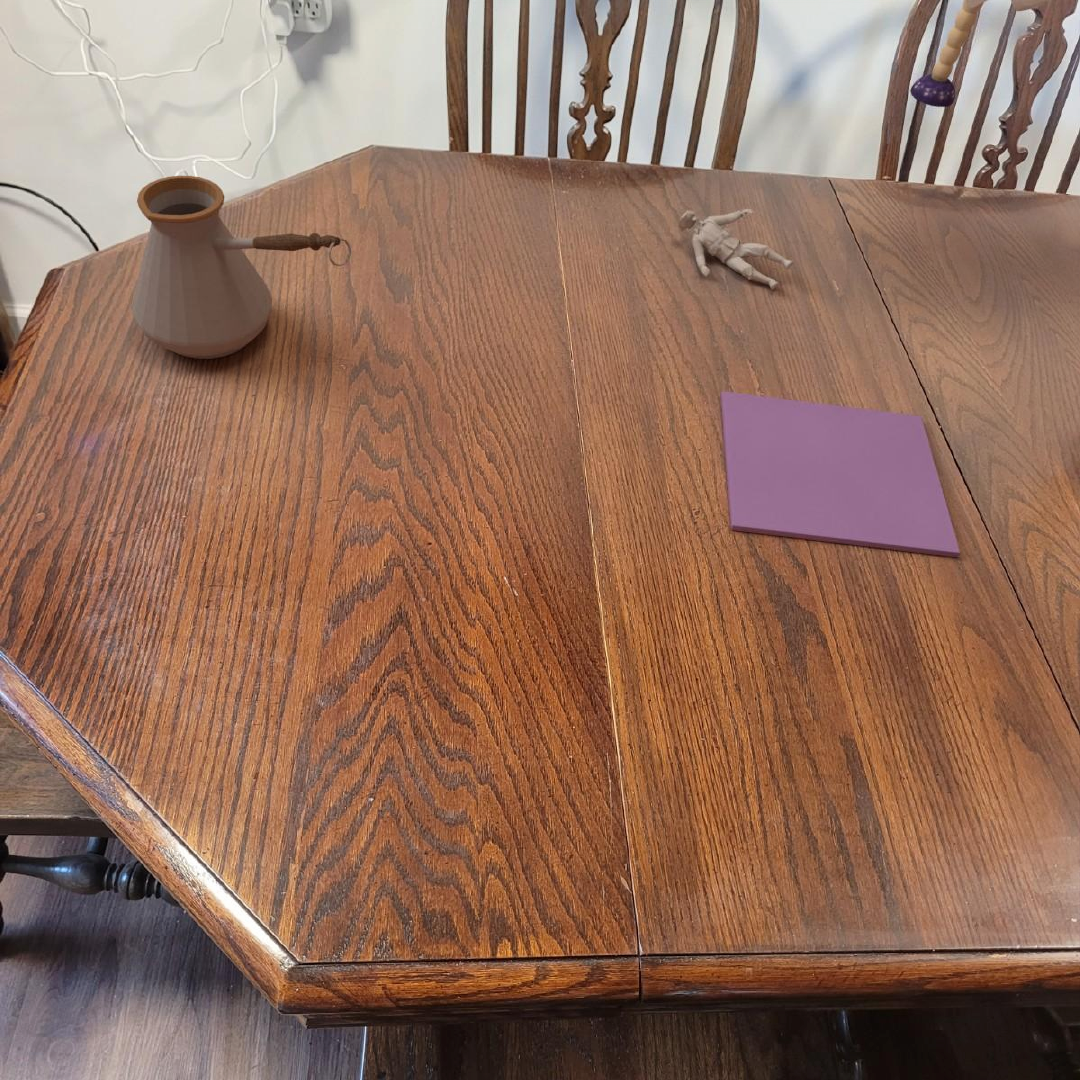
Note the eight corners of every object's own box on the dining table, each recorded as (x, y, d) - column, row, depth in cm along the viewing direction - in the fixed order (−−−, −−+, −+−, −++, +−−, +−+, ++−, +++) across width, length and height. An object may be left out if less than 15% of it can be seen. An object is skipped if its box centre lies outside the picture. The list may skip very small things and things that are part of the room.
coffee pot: (109, 340, 80) (58, 175, 69) (203, 277, 87) (171, 118, 76) (311, 439, 75) (292, 278, 64) (394, 364, 82) (390, 207, 71)
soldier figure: (756, 312, 94) (660, 240, 94) (750, 317, 99) (658, 249, 99) (806, 247, 93) (708, 174, 93) (797, 256, 98) (704, 186, 98)
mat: (918, 420, 84) (921, 415, 84) (957, 557, 74) (960, 552, 73) (720, 395, 84) (721, 390, 83) (730, 530, 73) (732, 525, 73)
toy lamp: (963, 99, 92) (1050, -100, 79) (950, 115, 89) (1038, -88, 76) (916, 83, 93) (995, -115, 80) (902, 98, 90) (981, -104, 78)
